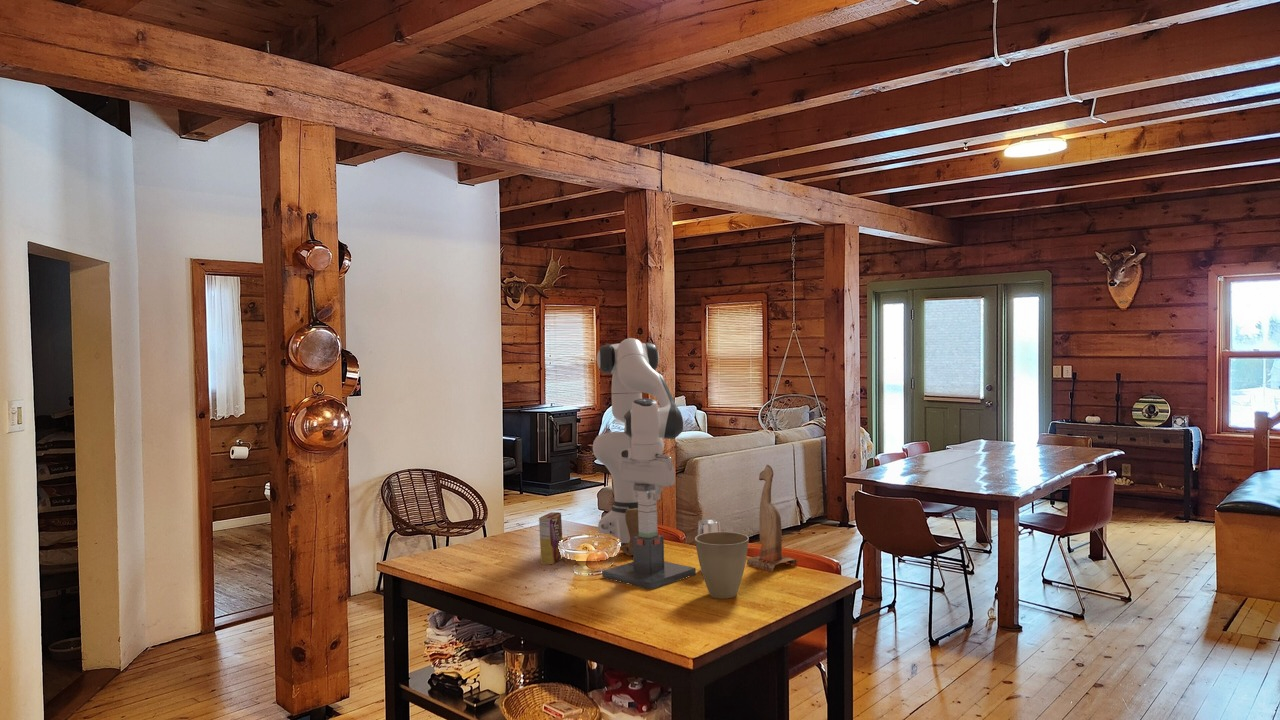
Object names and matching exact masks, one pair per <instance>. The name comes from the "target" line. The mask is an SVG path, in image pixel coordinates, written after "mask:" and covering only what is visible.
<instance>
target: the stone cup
mask: <svg viewBox="0 0 1280 720" xmlns="http://www.w3.org/2000/svg"><path fill="white" fill-rule="evenodd" d="M625 520H626V524H627V527H628V531H629V535H630V542H629V543H626V544H625V545H622V546H621V547H620V550H621V551H622V552H623V553H624V554H625V555H626V556H633V537H635V536H639V524H638V508H634V509H627V510H626V513H625Z"/></svg>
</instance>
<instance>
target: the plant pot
mask: <svg viewBox="0 0 1280 720" xmlns="http://www.w3.org/2000/svg"><path fill="white" fill-rule="evenodd" d="M749 539H750V538H749V536H748V535H746V534H743V533H738V532H732V531H721V532H710V533H704V534H700V535H698V534H697V536H695V537H694V543H695V547H696V553H697V558H698V559H697V560H698V563H699V567H701V570H700V571H701V573H702V577H703V581H704V583H705V586H706V588H707V591H708V593H709V596H710V597H711V598H715V599H721V600H724V599H725V600H726V599H733V598H735V597H736V596H737V595H738V593H739V589H740V586H741V582H742V579H743V575H744V572H745V568H746V564H747V557H748V549H749V541H750V540H749Z"/></svg>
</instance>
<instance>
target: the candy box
mask: <svg viewBox="0 0 1280 720" xmlns="http://www.w3.org/2000/svg"><path fill="white" fill-rule="evenodd" d="M538 523H539V524H538V525H539V541H540V542H539V543H540V544H539V545H540V547H539V548H540V549H539V550H540V564H542V565H548V564H552V565H554V564H556V563H558V562H559V561H561V560H562V559H561V555H560V552H559V549H558V543H559V541H561V540H563V529H562V528H563V525H562V523H563V522H562V512H558V511H557V512H554V511H553V512H552V511H551V512H548V513H547V514H545V515H542V516H541V517H538Z"/></svg>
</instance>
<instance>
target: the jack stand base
mask: <svg viewBox="0 0 1280 720" xmlns="http://www.w3.org/2000/svg"><path fill="white" fill-rule="evenodd" d="M664 543H665V537H664V535H660V534H658V535H657V537H655V538H651V539H645V538H640V537H639V536H635V537H633V555H632V556H633V557H632V559H633V560H632V561H631V562H628V563H624V564H621V565H617V566H615V567H611V568H608V569H607V568H606V569H604V570H601V573H602V575H601V576H602V577H604V578H603V579H606V578H608V580H610V579H612V581H614V580H617V581H616V582H618V581H621V582H620V583H622V582H624V583H623V584H626V583H629V584H628V585H630V584H632V585H631V586H634V585H635V587H639V588H642V589H647V590H651V589H652V590H654V588H655V589H657V588H660V587H663V586H665V585H669V584H672V583H674V581H675V582H678V581H681V580H683V578H684V579H687V578H689V577H688V576H690V577H693V576H695V574H696V571H697V569H696V567H692V566H687V565H683V564H678V563H673V562H669V561H665V544H664ZM692 575H693V576H692ZM686 577H687V578H686ZM680 579H681V580H680ZM677 580H678V581H677ZM652 590H651V591H652Z"/></svg>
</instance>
